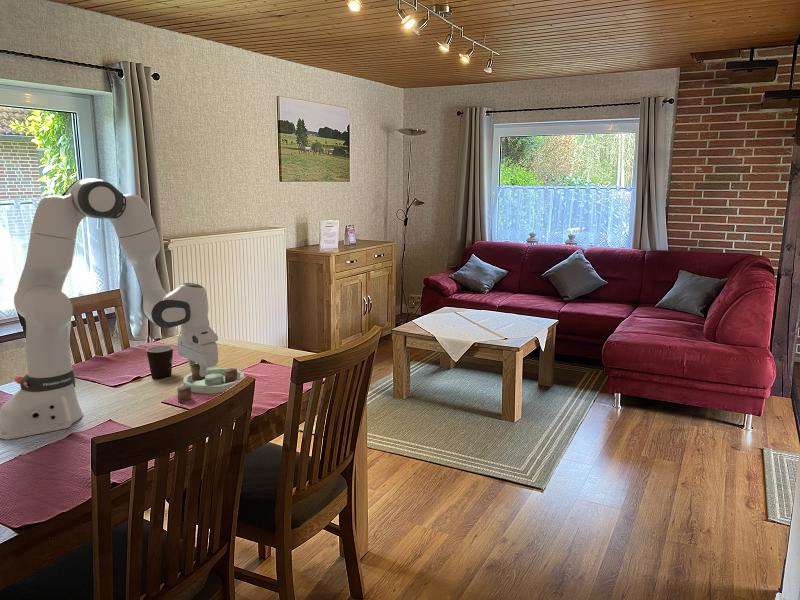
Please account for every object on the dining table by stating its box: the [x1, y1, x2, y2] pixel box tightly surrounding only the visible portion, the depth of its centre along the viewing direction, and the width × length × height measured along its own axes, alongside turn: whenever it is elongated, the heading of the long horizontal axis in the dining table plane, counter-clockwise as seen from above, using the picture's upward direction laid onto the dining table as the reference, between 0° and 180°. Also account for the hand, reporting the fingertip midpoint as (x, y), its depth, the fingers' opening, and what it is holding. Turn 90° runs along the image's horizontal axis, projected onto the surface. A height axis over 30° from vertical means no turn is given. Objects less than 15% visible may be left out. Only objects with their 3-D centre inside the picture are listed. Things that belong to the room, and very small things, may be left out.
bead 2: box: [191, 363, 205, 381], centre depth 204 cm, size 4×4×4 cm
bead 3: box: [225, 367, 238, 384], centre depth 208 cm, size 4×4×4 cm
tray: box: [182, 367, 245, 394], centre depth 208 cm, size 20×20×3 cm
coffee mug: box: [145, 344, 174, 380], centre depth 218 cm, size 12×9×10 cm
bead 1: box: [176, 386, 192, 405], centre depth 194 cm, size 4×4×4 cm
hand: (198, 374), depth 204 cm, fingers closed on bead 2, 4 cm apart
